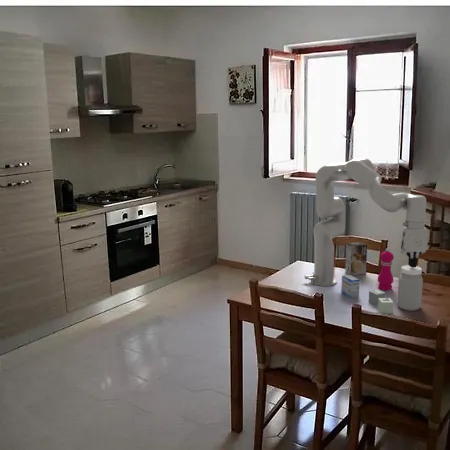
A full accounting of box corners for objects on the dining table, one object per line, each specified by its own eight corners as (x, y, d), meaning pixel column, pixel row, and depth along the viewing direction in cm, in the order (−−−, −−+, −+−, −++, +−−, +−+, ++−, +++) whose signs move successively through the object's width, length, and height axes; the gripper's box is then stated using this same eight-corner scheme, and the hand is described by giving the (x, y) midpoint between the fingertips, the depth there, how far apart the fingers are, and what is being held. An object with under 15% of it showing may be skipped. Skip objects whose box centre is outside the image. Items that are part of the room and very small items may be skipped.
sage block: (381, 313, 211) (381, 302, 210) (377, 308, 216) (378, 297, 215) (392, 313, 211) (393, 301, 210) (389, 308, 216) (389, 297, 215)
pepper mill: (393, 291, 237) (396, 250, 232) (378, 290, 238) (380, 250, 234) (392, 286, 243) (394, 246, 239) (376, 285, 245) (378, 246, 240)
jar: (425, 309, 214) (428, 269, 210) (406, 312, 212) (409, 272, 208) (411, 301, 223) (414, 263, 219) (392, 304, 221) (394, 265, 217)
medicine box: (340, 292, 236) (341, 275, 234) (348, 291, 237) (349, 274, 235) (351, 298, 228) (352, 280, 227) (359, 297, 230) (360, 279, 228)
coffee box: (360, 270, 268) (362, 241, 265) (366, 274, 262) (367, 244, 259) (344, 271, 266) (346, 242, 263) (350, 275, 260) (351, 245, 257)
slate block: (376, 305, 220) (376, 294, 219) (368, 301, 225) (369, 290, 224) (385, 303, 222) (385, 292, 221) (377, 299, 227) (378, 289, 226)
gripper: (402, 227, 204) (400, 270, 208) (436, 225, 207) (433, 267, 211) (394, 223, 212) (391, 265, 216) (426, 221, 214) (423, 262, 218)
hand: (412, 266), depth 213 cm, fingers closed
